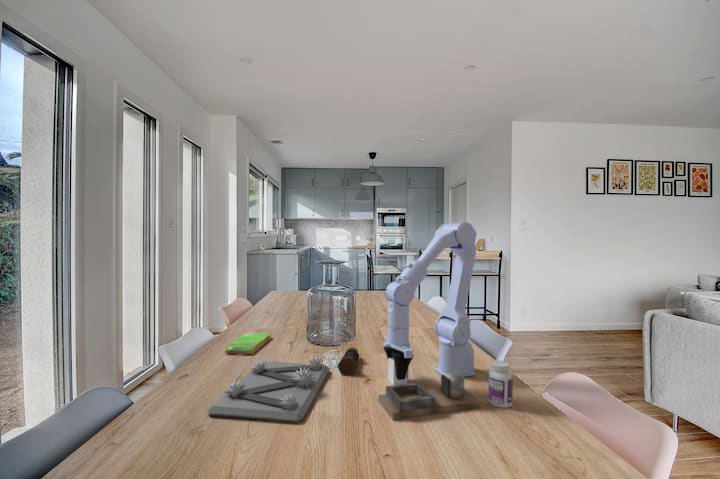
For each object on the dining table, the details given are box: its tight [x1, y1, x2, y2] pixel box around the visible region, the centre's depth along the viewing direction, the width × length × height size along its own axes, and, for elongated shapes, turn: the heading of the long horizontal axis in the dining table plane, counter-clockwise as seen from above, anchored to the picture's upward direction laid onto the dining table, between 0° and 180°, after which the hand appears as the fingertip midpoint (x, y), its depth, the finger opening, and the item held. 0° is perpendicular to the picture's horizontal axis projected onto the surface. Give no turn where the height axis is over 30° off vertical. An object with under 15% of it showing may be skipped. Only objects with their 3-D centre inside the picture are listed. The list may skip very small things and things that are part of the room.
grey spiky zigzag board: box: [206, 355, 330, 423], centre depth 89 cm, size 30×22×7 cm
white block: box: [387, 358, 410, 386], centre depth 96 cm, size 4×4×6 cm
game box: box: [223, 332, 272, 355], centre depth 126 cm, size 3×10×20 cm
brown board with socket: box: [378, 370, 481, 421], centre depth 83 cm, size 22×9×6 cm, turn 107°
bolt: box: [337, 347, 360, 376], centre depth 107 cm, size 6×5×15 cm
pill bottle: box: [488, 360, 514, 409], centre depth 84 cm, size 5×5×10 cm
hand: (397, 375), depth 96 cm, fingers closed on white block, 4 cm apart
